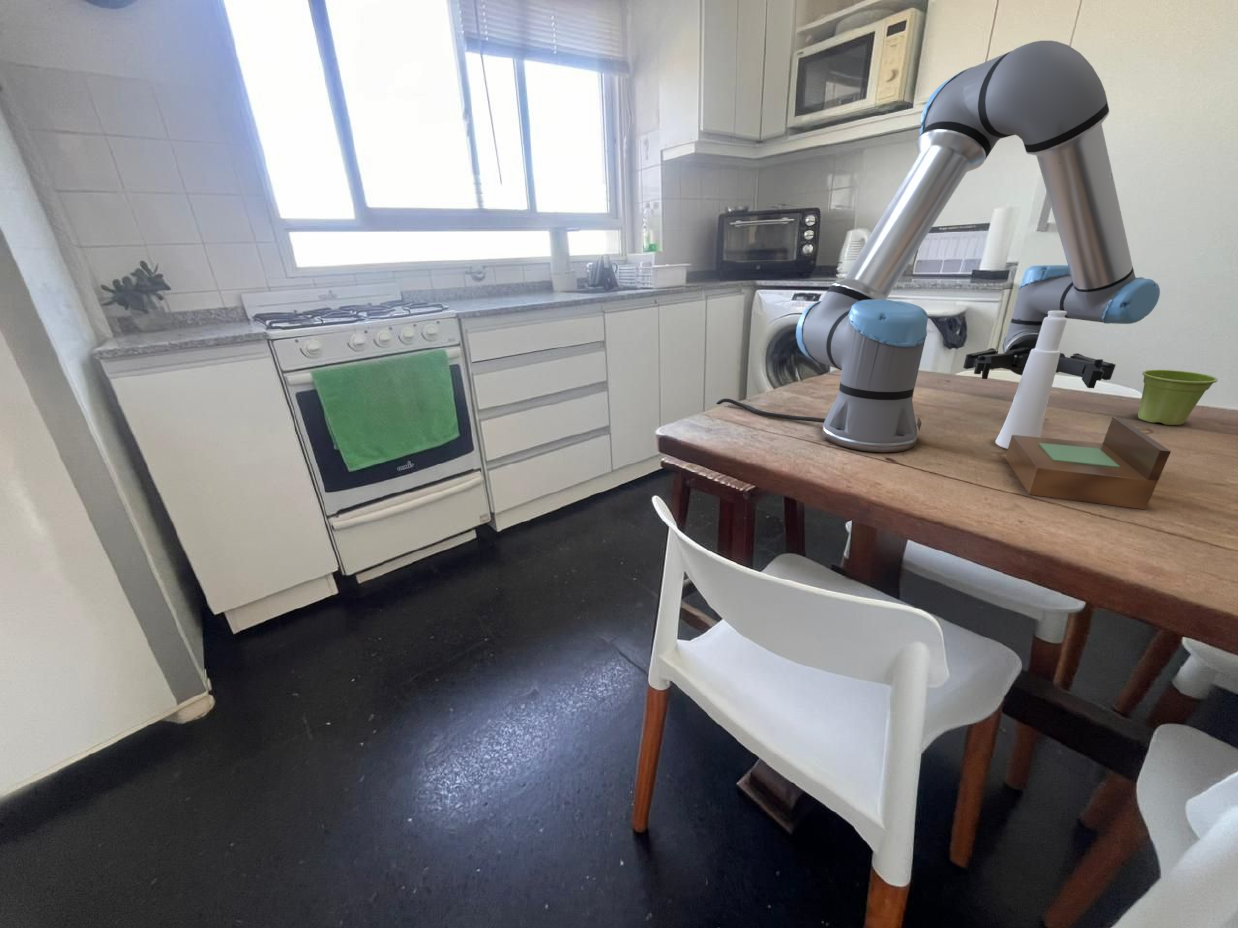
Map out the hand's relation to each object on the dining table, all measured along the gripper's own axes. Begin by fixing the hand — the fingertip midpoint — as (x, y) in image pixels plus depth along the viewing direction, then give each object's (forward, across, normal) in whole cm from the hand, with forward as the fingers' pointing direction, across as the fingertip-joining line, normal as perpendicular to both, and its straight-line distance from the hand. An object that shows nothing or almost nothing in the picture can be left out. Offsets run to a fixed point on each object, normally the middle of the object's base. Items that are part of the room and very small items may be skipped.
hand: (1037, 375), depth 80 cm
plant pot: (-27, -22, -12) cm, 37 cm away
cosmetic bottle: (+1, 0, -12) cm, 12 cm away
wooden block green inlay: (+14, -5, -12) cm, 19 cm away
